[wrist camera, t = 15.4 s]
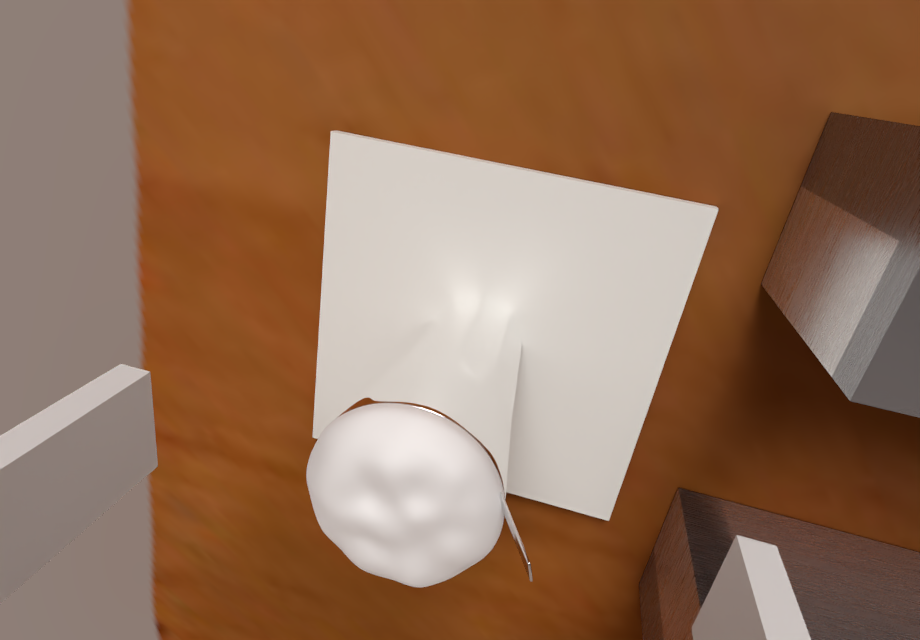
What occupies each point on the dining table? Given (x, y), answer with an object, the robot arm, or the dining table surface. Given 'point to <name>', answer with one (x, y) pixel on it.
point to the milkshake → (425, 454)
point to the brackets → (853, 369)
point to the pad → (510, 296)
